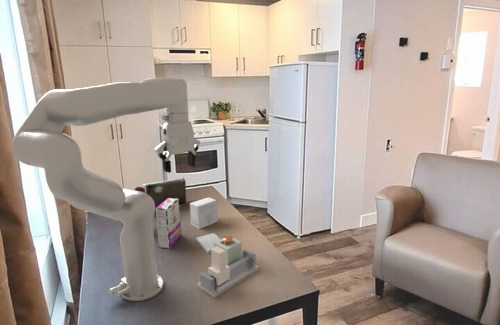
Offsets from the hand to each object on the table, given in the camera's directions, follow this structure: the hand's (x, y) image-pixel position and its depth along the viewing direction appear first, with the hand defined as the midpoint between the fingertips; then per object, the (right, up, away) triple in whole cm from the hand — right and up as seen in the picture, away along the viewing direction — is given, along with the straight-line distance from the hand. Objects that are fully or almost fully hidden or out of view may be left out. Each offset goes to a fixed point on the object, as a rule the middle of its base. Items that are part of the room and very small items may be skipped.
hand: (179, 168), depth 110 cm
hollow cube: (+16, -33, +6) cm, 37 cm away
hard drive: (+8, -30, +18) cm, 36 cm away
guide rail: (+17, -35, -4) cm, 39 cm away
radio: (-19, -21, +54) cm, 61 cm away
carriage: (+14, -35, -8) cm, 38 cm away
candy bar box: (-8, -30, +20) cm, 36 cm away
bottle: (-22, -27, +28) cm, 45 cm away
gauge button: (+16, -31, +6) cm, 35 cm away
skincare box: (+3, -25, +36) cm, 44 cm away
